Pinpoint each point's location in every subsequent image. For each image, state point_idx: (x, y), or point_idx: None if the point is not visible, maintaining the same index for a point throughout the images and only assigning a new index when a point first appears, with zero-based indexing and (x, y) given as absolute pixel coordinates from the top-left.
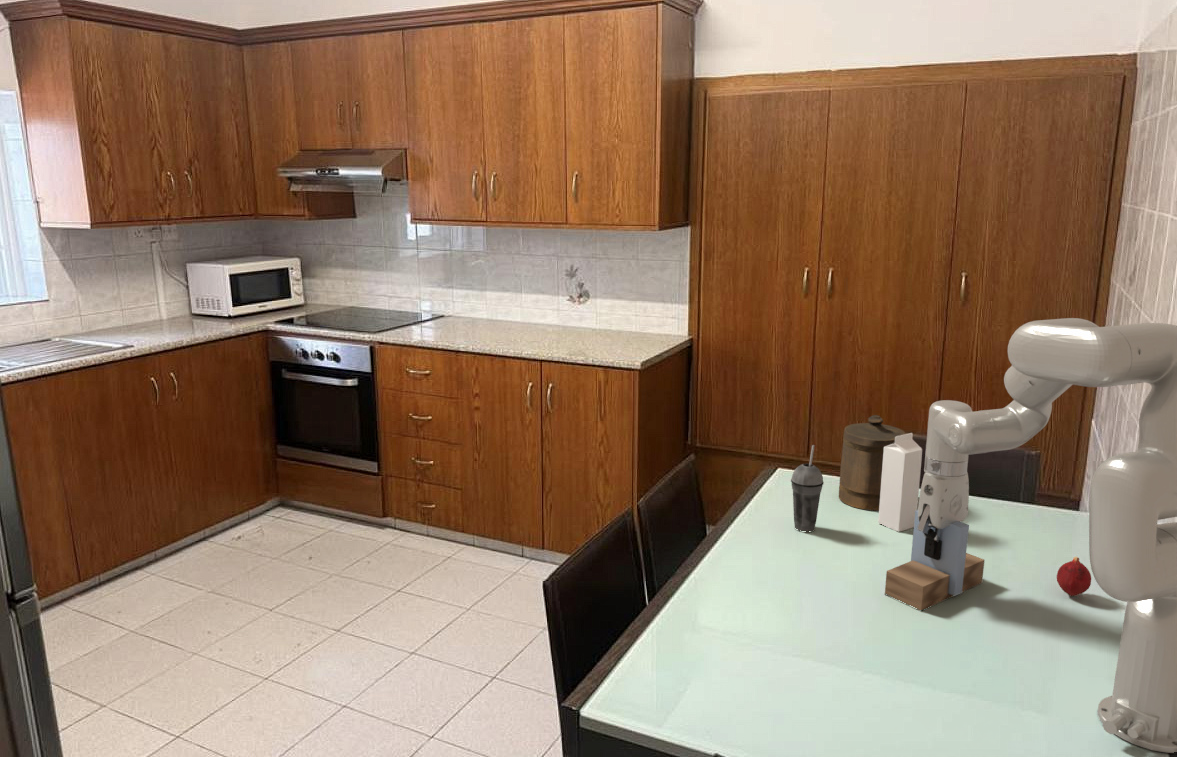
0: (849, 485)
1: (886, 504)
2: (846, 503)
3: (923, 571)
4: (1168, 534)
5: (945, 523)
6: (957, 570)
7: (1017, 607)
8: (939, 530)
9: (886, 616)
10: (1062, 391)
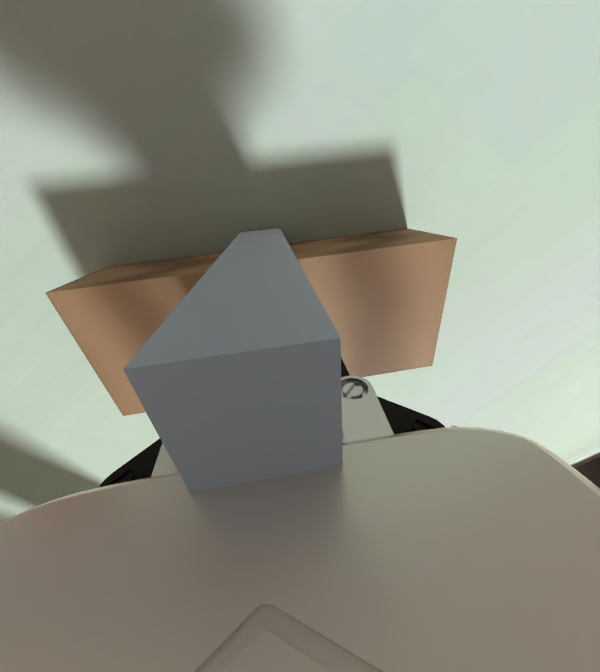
0: None
1: None
2: None
3: (349, 321)
4: None
5: (451, 474)
6: (283, 239)
7: (92, 50)
8: (365, 433)
9: (490, 253)
10: None
